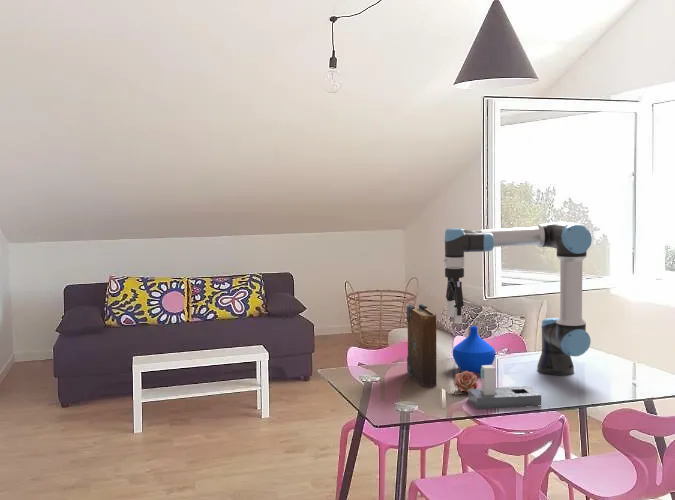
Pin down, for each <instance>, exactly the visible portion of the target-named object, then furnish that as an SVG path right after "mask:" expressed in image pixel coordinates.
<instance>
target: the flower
mask: <svg viewBox="0 0 675 500" xmlns="http://www.w3.org/2000/svg"><path fill="white" fill-rule="evenodd" d="M477 381H478V376H477V375H476V373H473V372H469V371H462V372H460V373H456V374H455V376H454V385H455V386H456V388H457V390H458V391H460V390H462V391H464V392H467V393H468V389H478V386H479V383H478V382H477ZM462 391H461V392H462Z"/></svg>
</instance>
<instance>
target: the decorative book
mask: <svg viewBox="0 0 675 500" xmlns="http://www.w3.org/2000/svg"><path fill="white" fill-rule="evenodd" d="M406 322H407V356H406V358H407V359H406V363H407V365H406V367H407V368H406V369H407V370H406V372H407V373H406V374H408V375H409V376H410V377H411V378H413V379H414V380H415V381H416V382H417V383H418V384H419V385H420V386H422V387H427V388H428V387H436V386H437V314H436V312H433V311H431V310H430V309H428V306H427V305H425V304H423V303H419V304H418V308H416V307H415V306H414V305H412V304H406Z"/></svg>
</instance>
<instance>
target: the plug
mask: <svg viewBox="0 0 675 500" xmlns="http://www.w3.org/2000/svg"><path fill="white" fill-rule="evenodd" d="M480 377H481V388H482V394H483V395H495V388H496V367H495V366H494V365H493V364H492V365H482V369H481V373H480Z"/></svg>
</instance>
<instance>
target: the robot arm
mask: <svg viewBox="0 0 675 500" xmlns="http://www.w3.org/2000/svg"><path fill="white" fill-rule="evenodd" d="M592 242H593V240H592V234H591V232H590V230H589V229H588V228H587V227H586V226H585V225H582V224H580V223H577V222H567V221H557V222H556V221H555V222H551V223H543V224H542V223H541V224H540V223H538V224H536V226H532V227H531V226H530V227H529V226H527V227H526V226H525V227H510V228H508V227H507V228H490V229H474V230H473V229H472V230H471V229H464V228H460V227H459V228H458V227H457V228H454V227H453V228H452V227H451V228H447V229H446V230H445V233H444V259H443V262H444V266H445V269H444V277H445V278H446V279H447V285H446V295H445V298H446V303H447V305H446V309H447V312H446V313H447V314H446V317H447V318H454V324H459V325H460V324H463V307H465V305H464V297H463V288H462V287H463V286H462V283H463V282H462V281H460V279H462V278H464V277H465V268H464V267H465V253H474V252H475V253H477V252H483V253H485V252H491V251H493V249H494V248H500V247H501V248H503V247H519V246H520V247H521V246H522V247H523V246H537V247H539V248H552V249H556V257H557V259H559V261H560V263H559V264H560V267H559V268H560V269H559V270H560V275H559V277H560V281H559V285H560V286H559V289H560V293H559V297H560V298H559V305H560V307H559V309H560V311H559V317H547V318H546V317H545V318H544V319H543V320H542V322H541V354H540V355H539V356H540V357H539V359H538V362H537V367H536V368H537V371H538V372H539V373H541V374H545V375H551V376H566V375H567V376H568V375H571V374H574V373H575V372H574V371H575V365H574V363H573V360H572V357H580V356H582V355H584V354H585V353H586V352H588V350H589V348H590V347H591V343H592V342H591V341H592V340H591V336H590V335H589V333H588V332H587V331H586V330H587V327H586V325H587V323H586V321H585V320H584V319H583V261H584V260H585V258H587V252H588V250H589V248H590V247H591V245H592Z"/></svg>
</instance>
